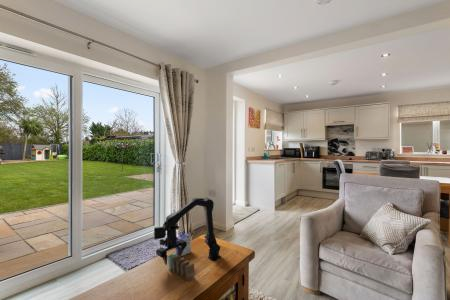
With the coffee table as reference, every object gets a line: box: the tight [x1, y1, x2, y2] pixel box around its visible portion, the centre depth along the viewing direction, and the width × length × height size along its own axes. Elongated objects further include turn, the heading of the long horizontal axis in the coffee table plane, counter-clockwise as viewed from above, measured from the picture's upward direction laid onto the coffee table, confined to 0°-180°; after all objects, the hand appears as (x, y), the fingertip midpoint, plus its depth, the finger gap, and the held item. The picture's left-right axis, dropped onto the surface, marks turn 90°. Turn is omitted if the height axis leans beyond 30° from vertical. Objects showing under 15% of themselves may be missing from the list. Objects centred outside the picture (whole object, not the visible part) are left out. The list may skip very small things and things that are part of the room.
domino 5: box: [185, 262, 196, 283], centre depth 120 cm, size 2×5×8 cm, turn 137°
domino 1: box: [167, 252, 177, 270], centre depth 132 cm, size 2×5×8 cm, turn 137°
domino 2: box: [171, 255, 182, 273], centre depth 129 cm, size 2×5×8 cm, turn 136°
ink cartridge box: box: [174, 231, 192, 257], centre depth 150 cm, size 10×6×14 cm, turn 131°
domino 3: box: [176, 257, 186, 276], centre depth 126 cm, size 2×5×8 cm, turn 137°
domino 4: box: [180, 260, 190, 279], centre depth 123 cm, size 2×5×8 cm, turn 136°
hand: (172, 261), depth 132 cm, fingers open, 9 cm apart
